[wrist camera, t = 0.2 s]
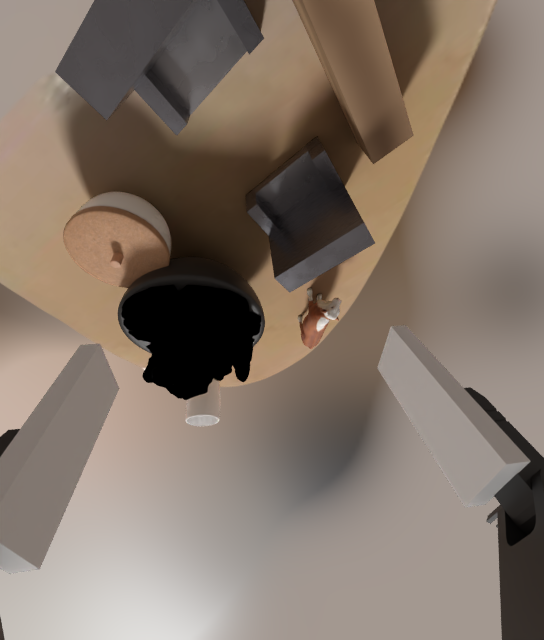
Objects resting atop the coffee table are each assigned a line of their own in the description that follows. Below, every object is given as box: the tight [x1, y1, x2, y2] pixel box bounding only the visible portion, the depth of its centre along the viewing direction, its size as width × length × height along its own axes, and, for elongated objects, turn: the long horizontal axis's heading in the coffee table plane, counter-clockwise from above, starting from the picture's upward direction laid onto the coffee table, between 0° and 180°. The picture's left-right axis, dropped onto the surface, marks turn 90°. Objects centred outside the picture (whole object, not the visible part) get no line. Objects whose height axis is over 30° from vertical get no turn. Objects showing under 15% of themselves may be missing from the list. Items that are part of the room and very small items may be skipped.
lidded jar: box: [63, 192, 171, 288], centre depth 33 cm, size 11×11×9 cm
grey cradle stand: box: [55, 0, 375, 292], centre depth 25 cm, size 10×24×12 cm, turn 37°
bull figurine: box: [298, 288, 341, 349], centre depth 49 cm, size 4×13×8 cm, turn 167°
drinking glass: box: [186, 379, 220, 426], centre depth 59 cm, size 7×7×15 cm
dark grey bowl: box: [118, 257, 265, 400], centre depth 39 cm, size 20×20×19 cm
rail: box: [293, 0, 413, 164], centre depth 23 cm, size 4×17×6 cm, turn 37°
